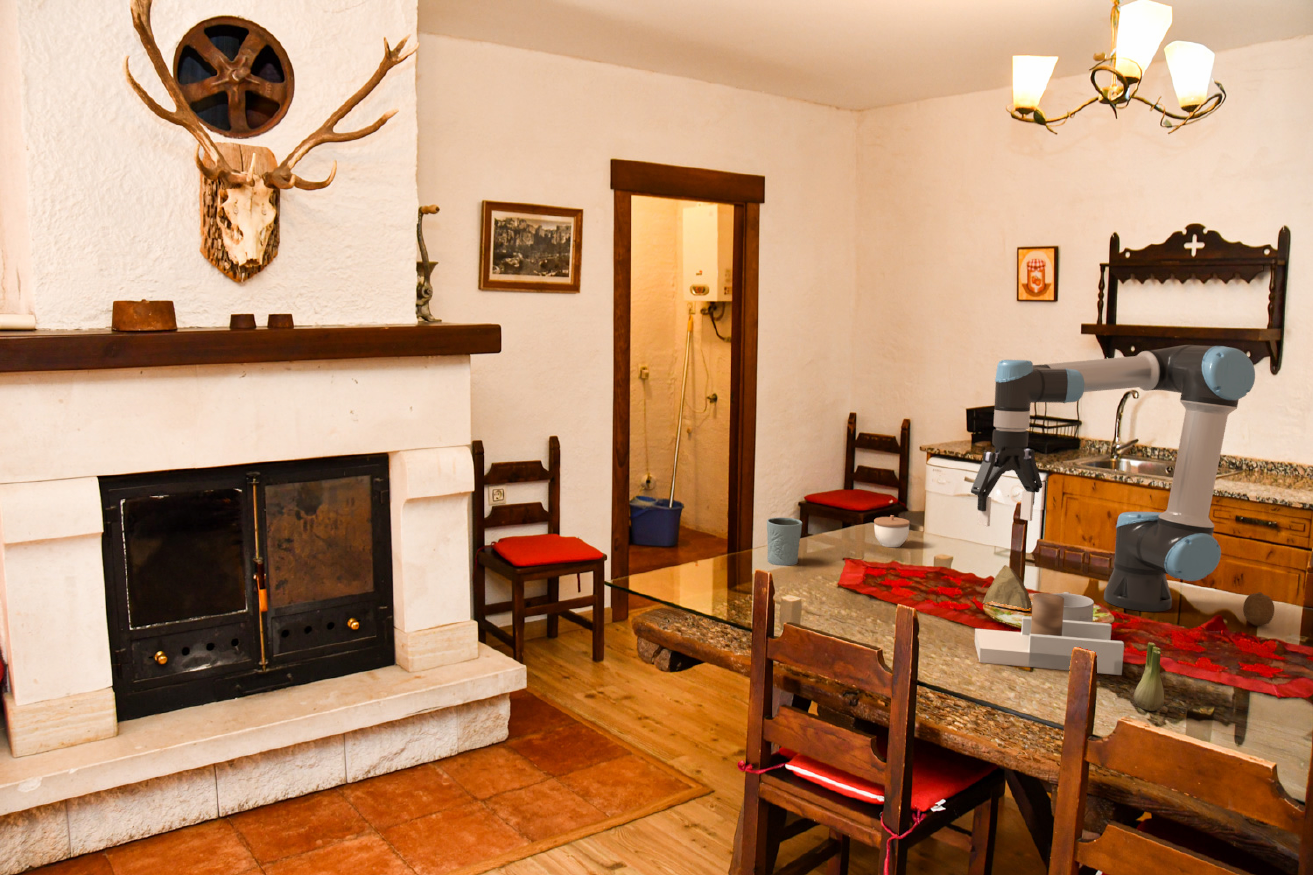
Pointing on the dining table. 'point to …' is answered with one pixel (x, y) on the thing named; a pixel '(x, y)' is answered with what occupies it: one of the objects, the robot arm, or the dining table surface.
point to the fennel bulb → (1150, 682)
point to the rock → (1008, 590)
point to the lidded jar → (891, 530)
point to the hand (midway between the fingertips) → (1005, 522)
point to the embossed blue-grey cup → (783, 540)
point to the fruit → (1258, 609)
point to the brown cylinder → (1047, 614)
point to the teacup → (1077, 607)
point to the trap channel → (1050, 646)
